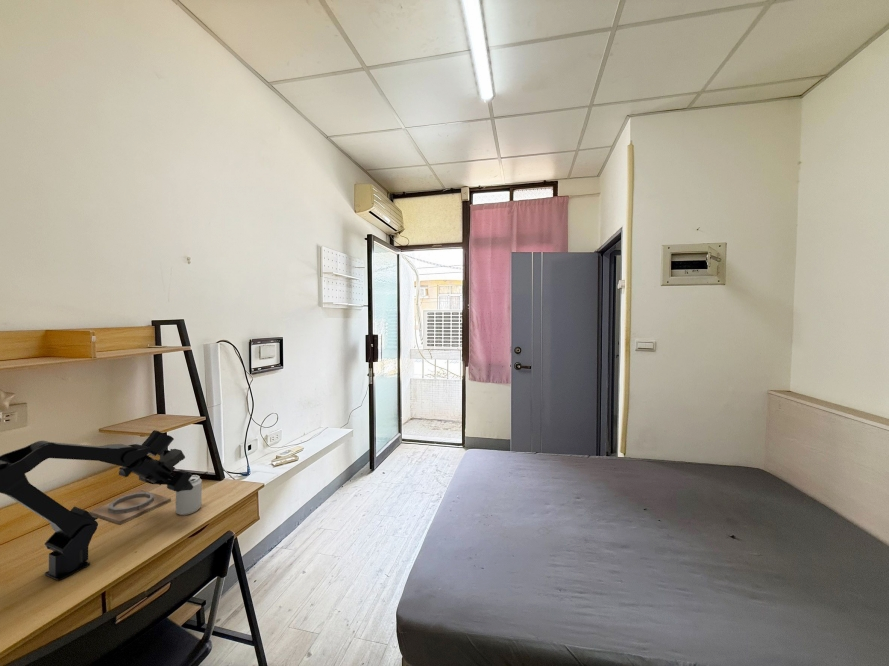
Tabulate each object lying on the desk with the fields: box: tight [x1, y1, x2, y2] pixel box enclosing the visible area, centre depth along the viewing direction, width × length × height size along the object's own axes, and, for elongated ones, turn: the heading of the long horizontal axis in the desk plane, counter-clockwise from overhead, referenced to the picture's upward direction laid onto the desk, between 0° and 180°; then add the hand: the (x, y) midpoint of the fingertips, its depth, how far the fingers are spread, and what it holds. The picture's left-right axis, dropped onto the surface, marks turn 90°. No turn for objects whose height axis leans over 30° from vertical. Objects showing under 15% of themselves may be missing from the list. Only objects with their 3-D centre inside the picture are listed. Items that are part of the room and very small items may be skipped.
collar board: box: [88, 490, 172, 526], centre depth 124 cm, size 16×16×3 cm
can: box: [175, 474, 203, 516], centre depth 123 cm, size 8×8×12 cm
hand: (183, 485), depth 121 cm, fingers open, 9 cm apart
